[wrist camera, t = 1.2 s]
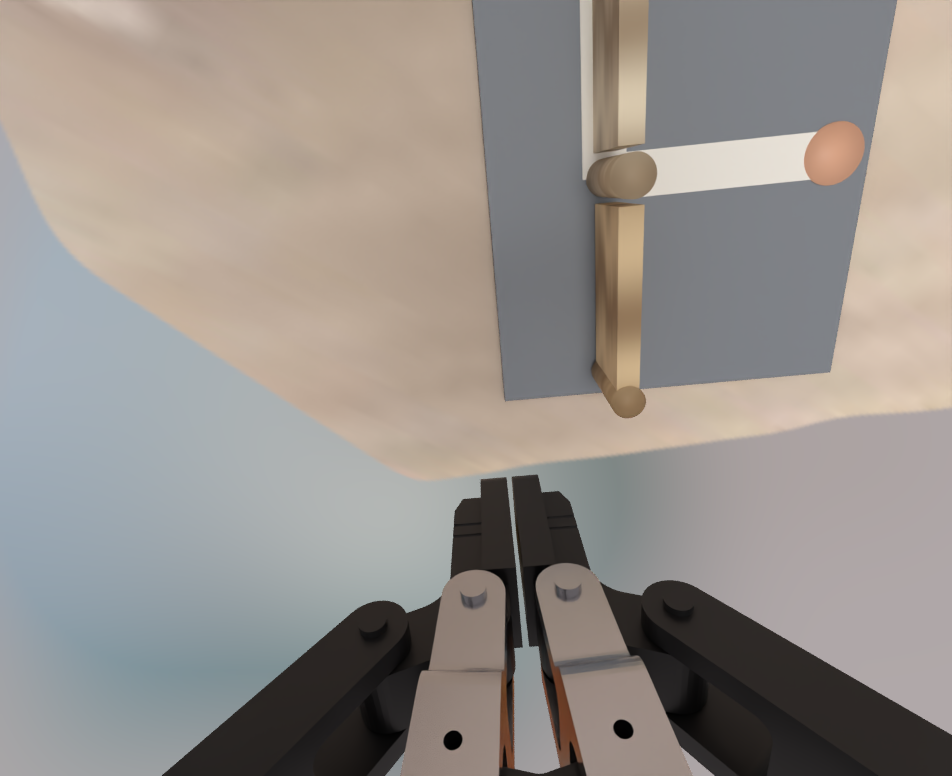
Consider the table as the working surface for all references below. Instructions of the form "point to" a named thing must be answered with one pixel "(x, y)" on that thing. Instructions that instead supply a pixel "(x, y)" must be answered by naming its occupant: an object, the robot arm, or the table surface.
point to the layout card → (682, 184)
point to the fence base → (620, 99)
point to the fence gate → (619, 304)
